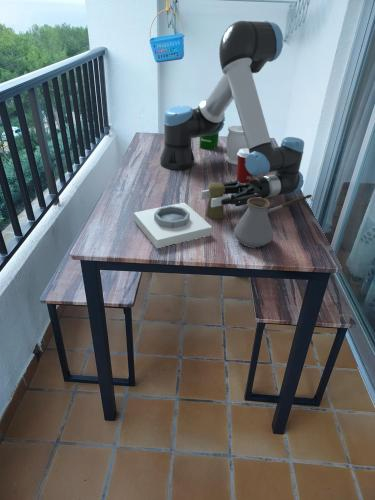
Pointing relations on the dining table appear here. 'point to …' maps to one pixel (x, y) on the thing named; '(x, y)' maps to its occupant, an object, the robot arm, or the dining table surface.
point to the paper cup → (243, 167)
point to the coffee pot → (258, 222)
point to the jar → (235, 143)
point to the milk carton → (209, 141)
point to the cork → (215, 192)
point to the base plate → (169, 233)
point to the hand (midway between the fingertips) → (206, 199)
